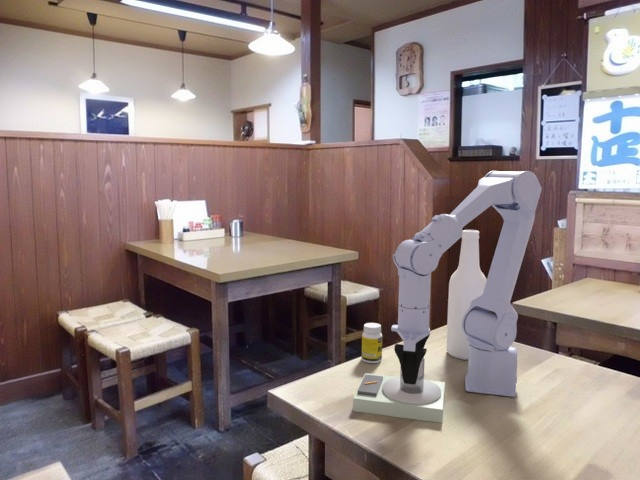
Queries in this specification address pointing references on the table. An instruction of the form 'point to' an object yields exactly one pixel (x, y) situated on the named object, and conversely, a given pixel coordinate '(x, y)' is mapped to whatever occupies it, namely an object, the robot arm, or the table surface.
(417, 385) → the cylinder
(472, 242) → the alcohol
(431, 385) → the scale
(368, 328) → the supplement bottle
